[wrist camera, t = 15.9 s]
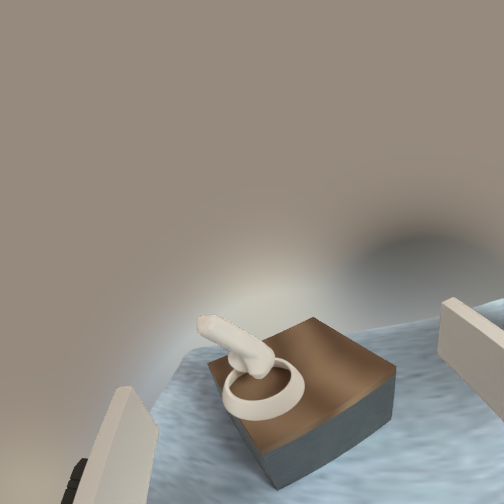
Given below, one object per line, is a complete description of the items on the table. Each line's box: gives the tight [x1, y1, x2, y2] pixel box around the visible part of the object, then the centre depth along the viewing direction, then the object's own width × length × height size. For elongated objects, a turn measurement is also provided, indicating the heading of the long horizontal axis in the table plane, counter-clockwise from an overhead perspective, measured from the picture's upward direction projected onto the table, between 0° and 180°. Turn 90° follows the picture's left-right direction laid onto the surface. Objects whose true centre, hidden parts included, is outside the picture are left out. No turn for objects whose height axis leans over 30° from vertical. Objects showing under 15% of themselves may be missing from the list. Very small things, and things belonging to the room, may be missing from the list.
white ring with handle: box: [197, 315, 305, 421], centre depth 23 cm, size 8×12×7 cm
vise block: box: [208, 317, 396, 490], centre depth 28 cm, size 14×14×8 cm
